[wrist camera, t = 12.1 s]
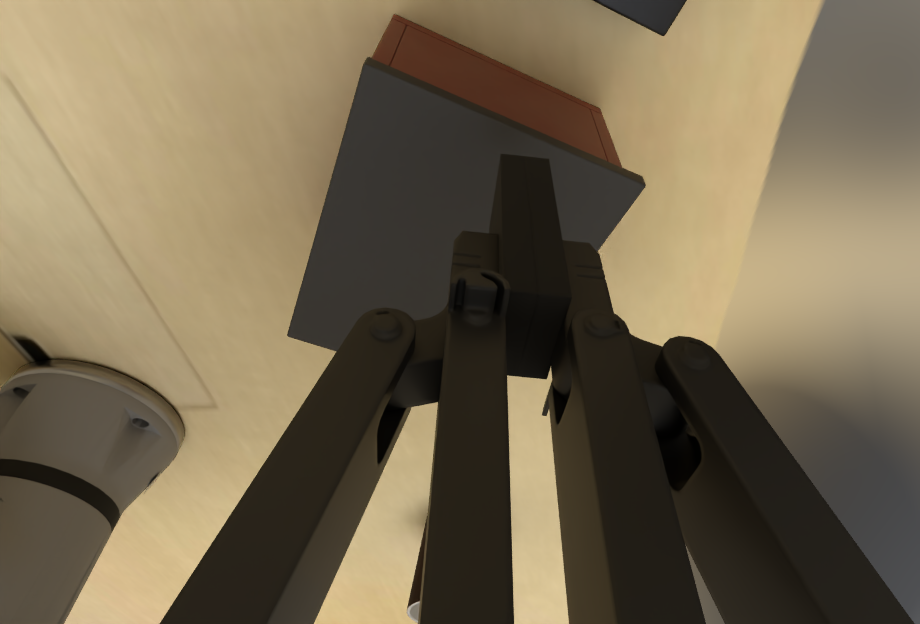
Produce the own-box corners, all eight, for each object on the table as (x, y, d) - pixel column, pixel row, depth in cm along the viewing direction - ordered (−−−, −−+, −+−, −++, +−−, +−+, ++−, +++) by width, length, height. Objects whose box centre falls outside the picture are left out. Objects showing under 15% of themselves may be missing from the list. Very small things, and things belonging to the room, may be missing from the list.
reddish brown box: (394, 13, 27) (362, 73, 21) (600, 108, 30) (630, 188, 23) (327, 235, 36) (290, 325, 30) (489, 293, 39) (489, 387, 33)
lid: (367, 55, 20) (363, 62, 19) (643, 176, 23) (647, 185, 22) (290, 326, 30) (286, 336, 29) (489, 387, 33) (489, 398, 32)
